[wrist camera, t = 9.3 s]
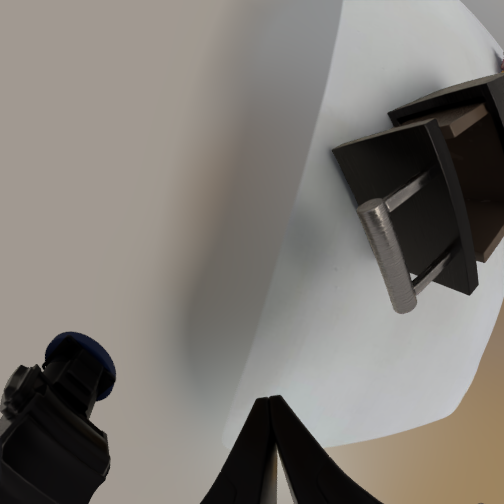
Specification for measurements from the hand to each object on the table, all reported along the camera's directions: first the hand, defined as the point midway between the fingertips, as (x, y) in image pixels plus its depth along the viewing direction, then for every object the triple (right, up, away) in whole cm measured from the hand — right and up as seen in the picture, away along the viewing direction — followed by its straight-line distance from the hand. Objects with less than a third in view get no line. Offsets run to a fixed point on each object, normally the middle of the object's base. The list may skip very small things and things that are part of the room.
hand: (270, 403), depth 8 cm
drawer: (+10, +10, +12) cm, 19 cm away
